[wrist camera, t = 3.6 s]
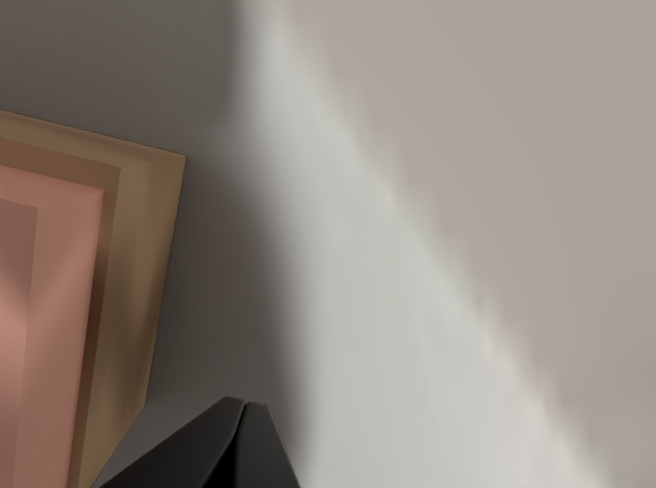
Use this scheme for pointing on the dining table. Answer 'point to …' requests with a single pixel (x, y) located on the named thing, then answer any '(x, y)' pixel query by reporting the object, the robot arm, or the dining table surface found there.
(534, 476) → the dining table surface
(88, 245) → the pink block
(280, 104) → the dining table surface
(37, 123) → the brown square block
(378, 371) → the dining table surface
